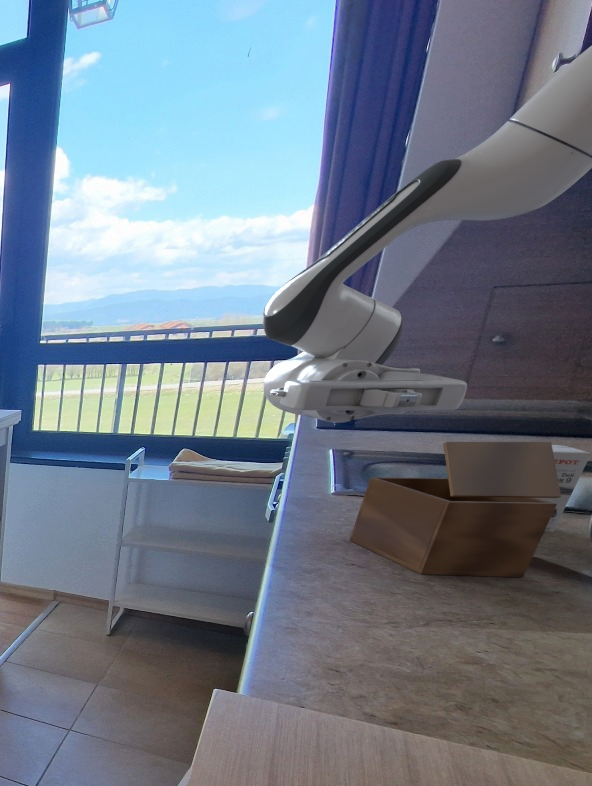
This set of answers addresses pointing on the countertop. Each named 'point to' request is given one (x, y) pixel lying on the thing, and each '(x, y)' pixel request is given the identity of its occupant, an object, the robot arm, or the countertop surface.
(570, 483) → the ink box
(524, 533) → the carton
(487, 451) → the flap
